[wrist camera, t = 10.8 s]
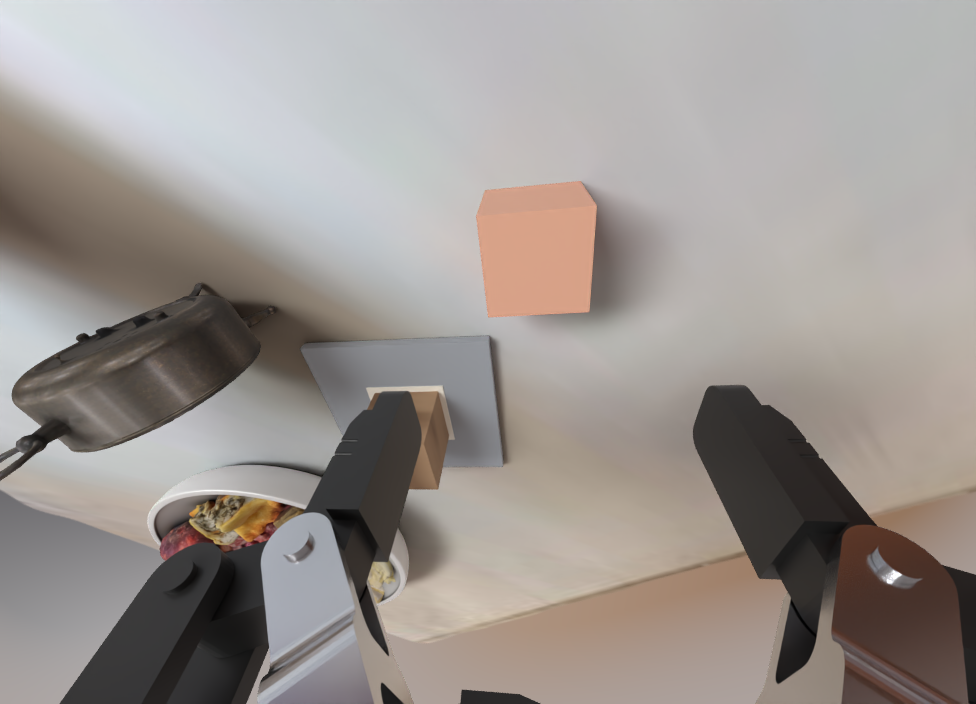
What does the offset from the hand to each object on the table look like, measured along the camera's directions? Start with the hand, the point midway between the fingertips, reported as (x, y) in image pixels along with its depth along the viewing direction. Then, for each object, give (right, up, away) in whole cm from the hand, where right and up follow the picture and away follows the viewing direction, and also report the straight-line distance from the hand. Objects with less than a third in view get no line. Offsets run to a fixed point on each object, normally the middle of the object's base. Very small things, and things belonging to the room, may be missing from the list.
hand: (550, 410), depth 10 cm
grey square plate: (-8, -3, +22) cm, 24 cm away
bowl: (-26, -21, +37) cm, 50 cm away
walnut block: (-8, -4, +22) cm, 23 cm away
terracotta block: (+1, +9, +12) cm, 15 cm away
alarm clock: (-22, +5, +18) cm, 29 cm away
